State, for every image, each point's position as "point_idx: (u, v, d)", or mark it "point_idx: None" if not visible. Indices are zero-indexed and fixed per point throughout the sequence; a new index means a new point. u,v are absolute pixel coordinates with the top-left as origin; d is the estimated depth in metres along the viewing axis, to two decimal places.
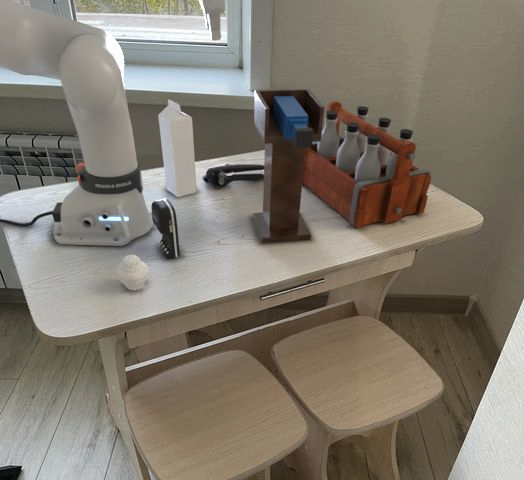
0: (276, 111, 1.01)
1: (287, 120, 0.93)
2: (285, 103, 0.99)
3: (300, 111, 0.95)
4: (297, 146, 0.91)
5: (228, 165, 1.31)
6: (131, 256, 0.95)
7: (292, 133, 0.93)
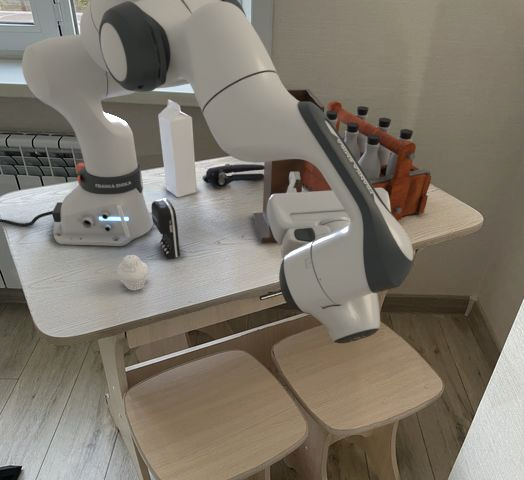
0: None
1: None
2: None
3: None
4: None
5: (228, 165, 1.31)
6: (131, 256, 0.95)
7: None
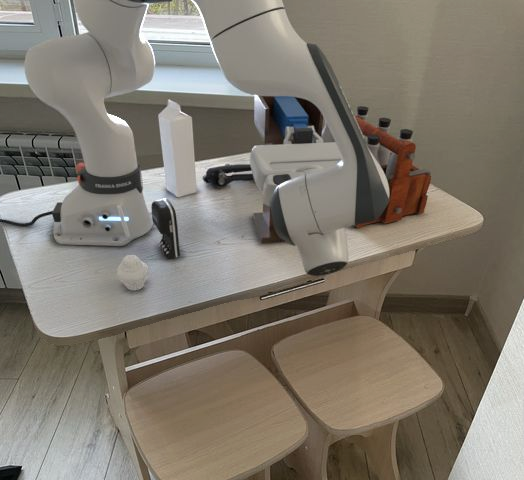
0: (276, 111, 1.01)
1: (287, 120, 0.93)
2: (285, 103, 0.99)
3: (300, 111, 0.95)
4: None
5: (228, 165, 1.31)
6: (131, 256, 0.95)
7: None
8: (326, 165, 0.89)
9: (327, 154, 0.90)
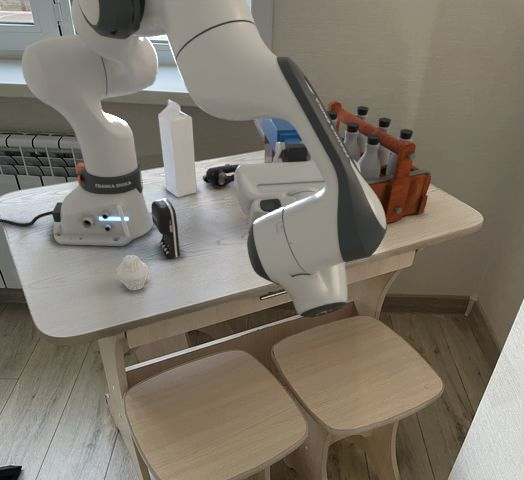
0: (266, 123, 0.88)
1: (278, 134, 0.81)
2: None
3: None
4: None
5: (228, 165, 1.31)
6: (131, 256, 0.95)
7: None
8: (322, 187, 0.77)
9: None
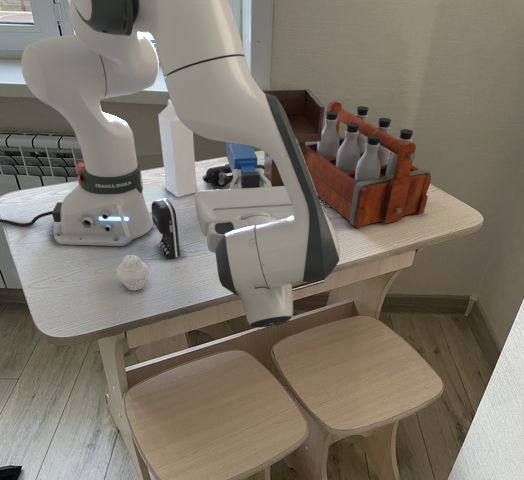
0: (228, 150, 0.97)
1: (235, 162, 0.90)
2: None
3: (250, 152, 0.92)
4: None
5: (228, 165, 1.31)
6: (131, 256, 0.95)
7: None
8: (273, 210, 0.86)
9: (274, 199, 0.86)
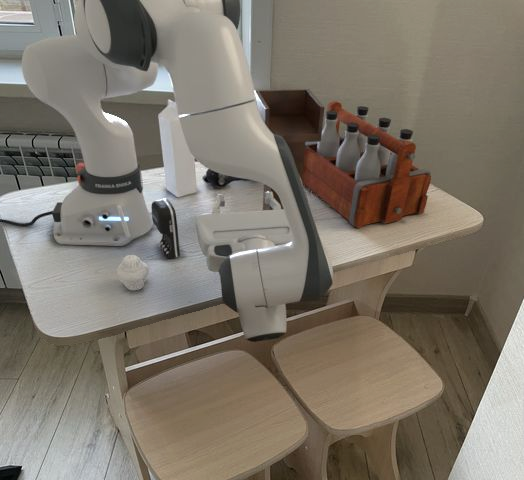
0: None
1: None
2: None
3: None
4: None
5: None
6: (131, 256, 0.95)
7: None
8: (268, 232, 0.92)
9: (269, 222, 0.93)
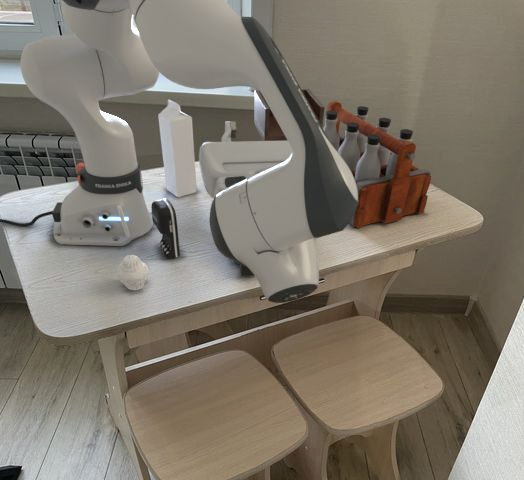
0: None
1: None
2: None
3: None
4: (242, 275, 1.02)
5: None
6: (131, 256, 0.95)
7: None
8: None
9: None
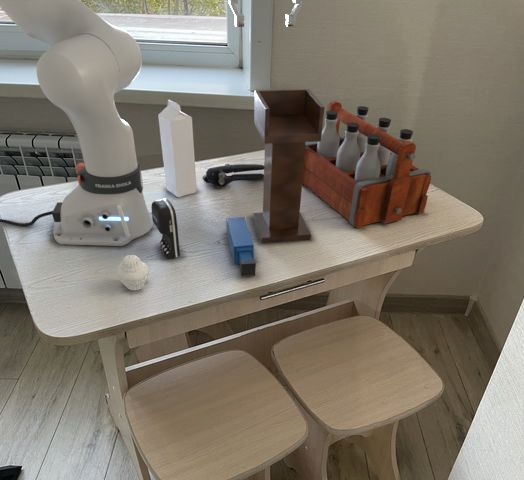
0: (228, 232, 1.12)
1: (234, 249, 1.04)
2: (235, 227, 1.10)
3: (247, 239, 1.06)
4: (242, 275, 1.02)
5: (228, 165, 1.31)
6: (131, 256, 0.95)
7: (239, 260, 1.05)
8: None
9: None
